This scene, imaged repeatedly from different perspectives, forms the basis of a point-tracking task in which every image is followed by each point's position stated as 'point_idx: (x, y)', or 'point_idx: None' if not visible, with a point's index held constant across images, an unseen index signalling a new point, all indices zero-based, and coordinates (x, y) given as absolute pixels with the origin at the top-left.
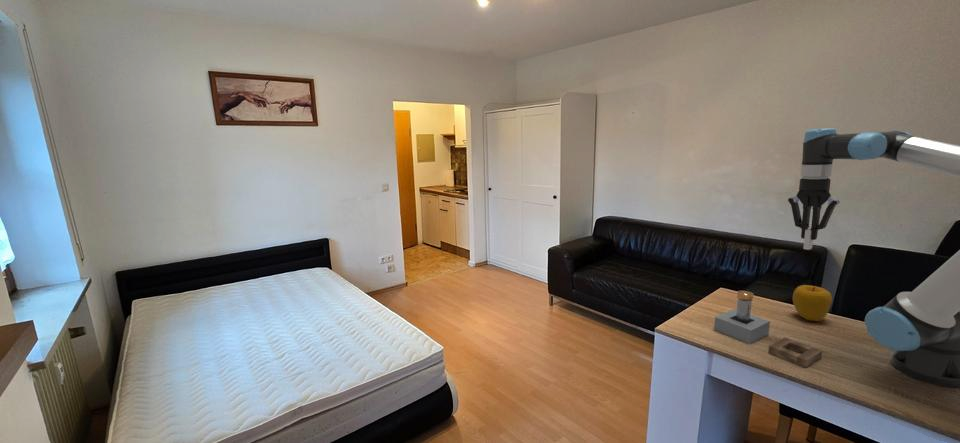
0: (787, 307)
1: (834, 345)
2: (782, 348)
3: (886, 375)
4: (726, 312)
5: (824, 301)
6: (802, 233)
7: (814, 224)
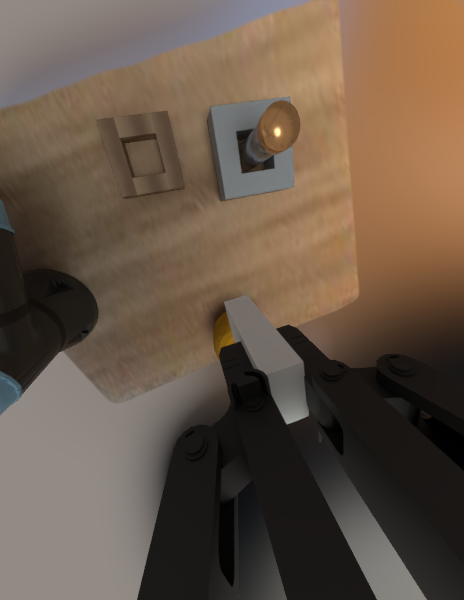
0: None
1: (154, 266)
2: (150, 127)
3: (53, 239)
4: (292, 152)
5: (216, 336)
6: (304, 345)
7: (264, 451)
